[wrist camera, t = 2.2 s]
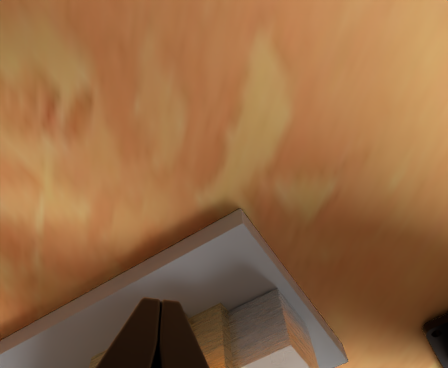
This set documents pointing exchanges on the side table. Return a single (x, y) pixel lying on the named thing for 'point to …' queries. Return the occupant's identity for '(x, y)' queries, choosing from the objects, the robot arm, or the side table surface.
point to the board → (170, 297)
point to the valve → (252, 335)
